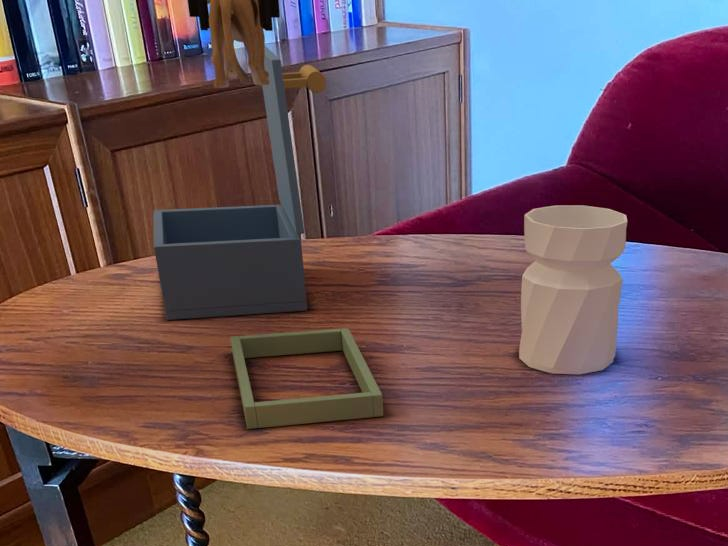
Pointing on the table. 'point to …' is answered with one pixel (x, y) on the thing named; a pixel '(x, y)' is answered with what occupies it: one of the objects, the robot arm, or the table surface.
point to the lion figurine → (240, 23)
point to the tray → (312, 407)
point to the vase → (571, 288)
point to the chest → (228, 261)
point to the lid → (286, 129)
